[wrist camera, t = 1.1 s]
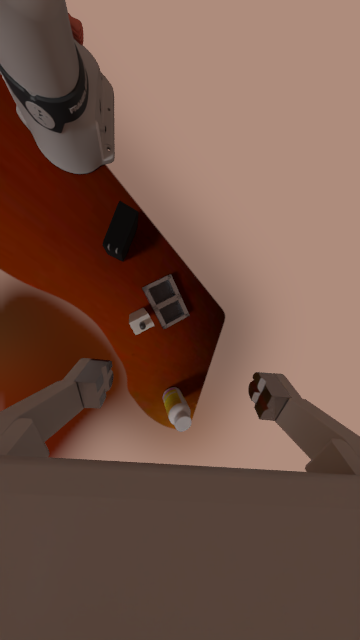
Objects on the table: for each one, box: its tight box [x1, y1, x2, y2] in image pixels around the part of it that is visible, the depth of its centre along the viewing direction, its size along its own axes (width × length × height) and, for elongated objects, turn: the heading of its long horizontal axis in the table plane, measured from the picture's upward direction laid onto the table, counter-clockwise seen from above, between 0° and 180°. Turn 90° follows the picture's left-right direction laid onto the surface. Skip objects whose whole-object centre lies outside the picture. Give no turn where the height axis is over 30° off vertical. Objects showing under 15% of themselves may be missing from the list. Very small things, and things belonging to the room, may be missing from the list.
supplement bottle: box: [163, 387, 191, 431], centre depth 49 cm, size 7×7×13 cm
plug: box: [129, 308, 154, 335], centre depth 40 cm, size 4×3×17 cm, turn 116°
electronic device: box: [103, 201, 138, 261], centre depth 38 cm, size 4×10×10 cm, turn 157°
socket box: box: [142, 274, 189, 329], centre depth 48 cm, size 9×14×3 cm, turn 26°
